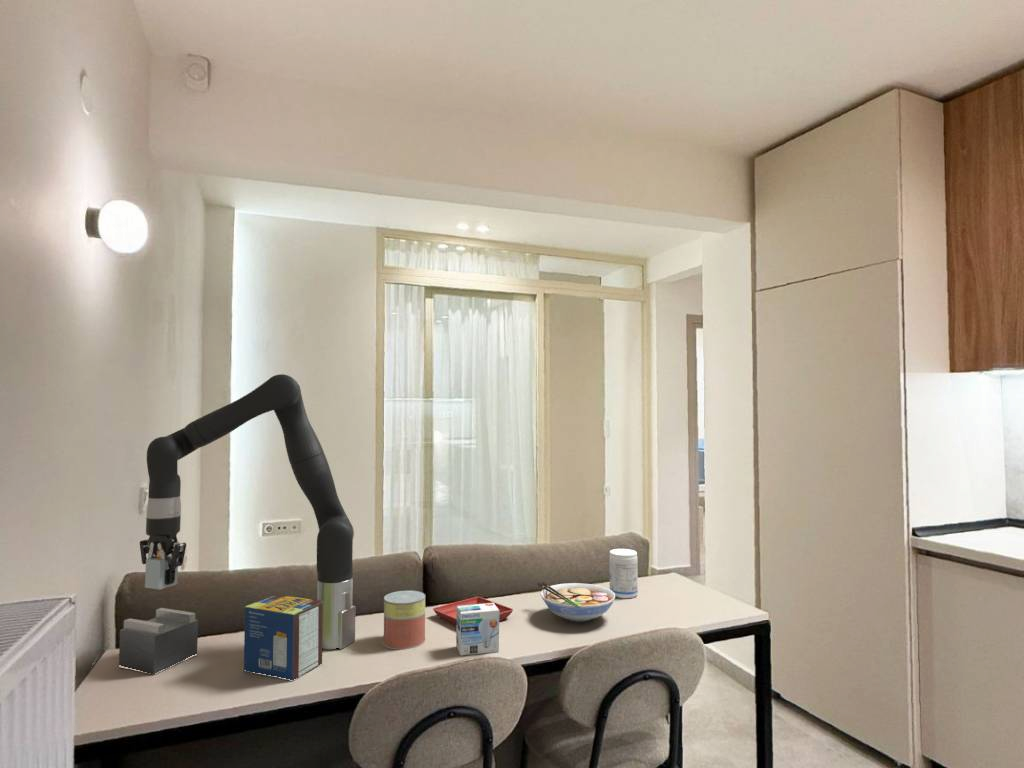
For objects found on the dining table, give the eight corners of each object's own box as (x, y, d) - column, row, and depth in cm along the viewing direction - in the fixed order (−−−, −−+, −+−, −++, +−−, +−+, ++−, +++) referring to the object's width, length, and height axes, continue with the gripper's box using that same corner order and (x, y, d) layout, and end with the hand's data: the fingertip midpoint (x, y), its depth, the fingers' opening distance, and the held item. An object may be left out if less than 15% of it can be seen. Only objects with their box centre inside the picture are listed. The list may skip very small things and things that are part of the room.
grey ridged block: (197, 655, 149) (198, 611, 150) (153, 675, 138) (155, 627, 138) (163, 649, 153) (164, 606, 154) (118, 667, 142) (120, 621, 143)
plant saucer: (431, 618, 177) (431, 607, 177) (478, 605, 189) (478, 595, 189) (466, 635, 163) (466, 623, 164) (514, 620, 175) (514, 609, 175)
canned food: (431, 635, 162) (432, 592, 163) (414, 651, 151) (414, 604, 152) (395, 631, 165) (395, 589, 166) (375, 647, 154) (376, 601, 155)
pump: (177, 584, 148) (178, 548, 149) (159, 589, 143) (160, 552, 144) (163, 582, 150) (164, 546, 150) (144, 587, 145) (146, 551, 146)
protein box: (274, 655, 149) (275, 593, 150) (322, 664, 144) (323, 600, 145) (242, 671, 140) (243, 606, 140) (292, 682, 134) (293, 613, 135)
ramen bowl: (633, 626, 168) (632, 598, 169) (562, 638, 160) (562, 608, 160) (590, 601, 192) (590, 576, 192) (527, 610, 183) (527, 584, 184)
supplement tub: (608, 590, 204) (608, 548, 205) (636, 591, 203) (635, 548, 204) (610, 598, 194) (610, 554, 195) (639, 599, 193) (638, 555, 194)
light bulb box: (459, 656, 148) (459, 613, 149) (455, 646, 154) (455, 605, 155) (500, 651, 151) (500, 609, 151) (494, 642, 157) (494, 601, 158)
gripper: (197, 514, 149) (195, 581, 148) (157, 511, 154) (154, 576, 153) (170, 519, 142) (168, 589, 141) (129, 515, 147) (127, 583, 146)
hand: (161, 582), depth 147 cm, fingers closed on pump, 5 cm apart
